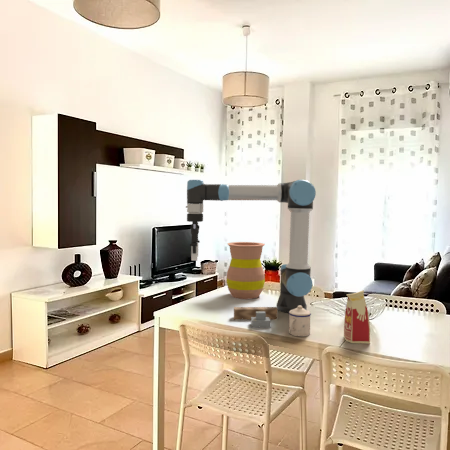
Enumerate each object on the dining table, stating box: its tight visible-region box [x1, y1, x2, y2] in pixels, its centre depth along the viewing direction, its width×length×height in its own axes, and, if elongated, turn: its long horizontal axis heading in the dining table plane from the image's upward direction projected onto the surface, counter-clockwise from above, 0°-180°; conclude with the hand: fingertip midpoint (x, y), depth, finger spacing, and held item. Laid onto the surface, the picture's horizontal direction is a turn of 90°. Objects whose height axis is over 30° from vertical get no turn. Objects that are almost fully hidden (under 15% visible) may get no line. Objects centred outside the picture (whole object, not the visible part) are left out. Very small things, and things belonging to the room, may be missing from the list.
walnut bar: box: [233, 306, 279, 320], centre depth 202 cm, size 20×4×5 cm, turn 93°
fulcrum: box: [250, 311, 272, 329], centre depth 190 cm, size 8×6×6 cm
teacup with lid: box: [288, 305, 312, 337], centre depth 178 cm, size 12×9×12 cm
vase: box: [226, 241, 266, 300], centre depth 247 cm, size 22×22×30 cm
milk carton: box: [343, 289, 371, 344], centre depth 172 cm, size 9×9×20 cm
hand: (194, 258), depth 202 cm, fingers open, 13 cm apart
